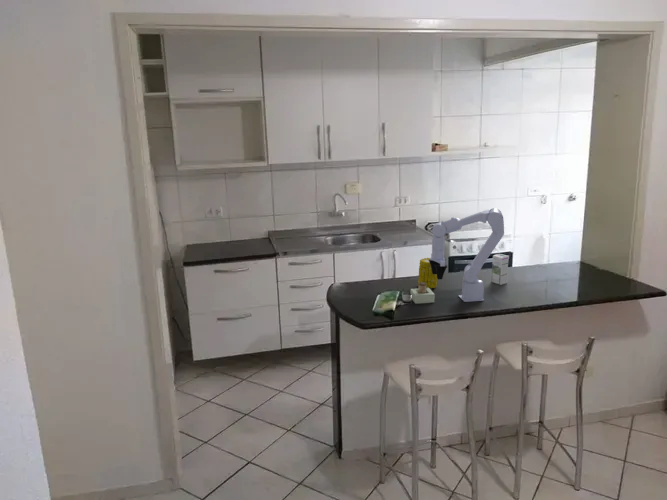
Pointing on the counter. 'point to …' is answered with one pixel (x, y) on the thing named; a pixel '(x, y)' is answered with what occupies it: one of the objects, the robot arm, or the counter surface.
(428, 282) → the food
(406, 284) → the counter surface
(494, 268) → the syrup box
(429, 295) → the socket block
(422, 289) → the beech peg
